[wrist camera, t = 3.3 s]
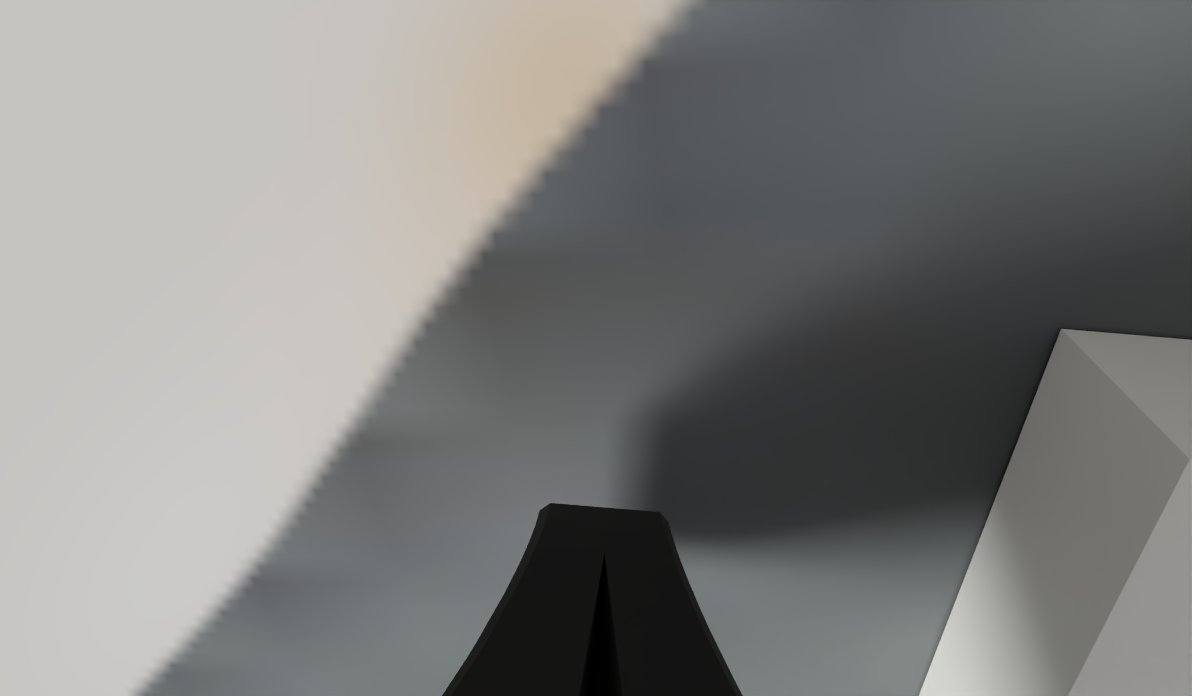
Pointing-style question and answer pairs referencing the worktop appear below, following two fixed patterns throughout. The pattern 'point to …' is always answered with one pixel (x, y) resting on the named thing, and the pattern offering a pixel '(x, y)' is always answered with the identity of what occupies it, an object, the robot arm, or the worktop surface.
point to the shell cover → (1086, 535)
